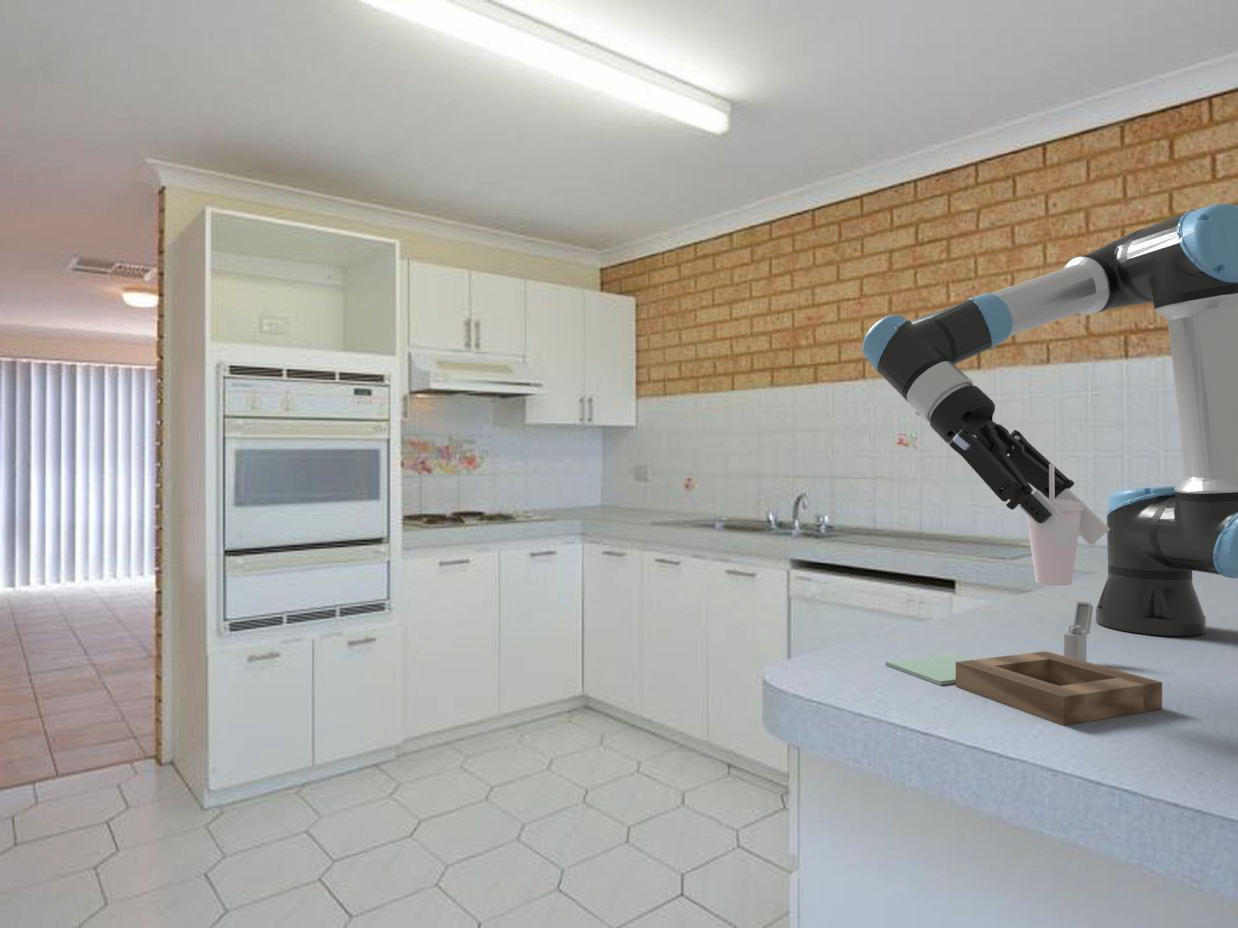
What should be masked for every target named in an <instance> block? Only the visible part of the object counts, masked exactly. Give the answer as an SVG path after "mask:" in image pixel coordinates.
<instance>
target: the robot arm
mask: <svg viewBox="0 0 1238 928" xmlns="http://www.w3.org/2000/svg"><path fill="white" fill-rule="evenodd" d="M1151 303H1153V310H1154V313H1156V314H1157V315H1159V316H1160V317H1162V318H1164V319H1165V320H1166V321H1167V324H1168V334H1169V343H1170V352H1171V353H1170V354H1171V359H1172V360H1171V363H1172V371H1173V380H1174V386H1175V387H1174V388H1175V397H1176V398H1175V399H1176V406H1177V414H1178V415H1177V417H1178V424H1179V433H1180V443H1181V452H1182V460H1183V461H1182V462H1183V469H1184V477H1183V479H1182V480H1181V481H1180V482H1179V483H1178V484H1177V485H1175V486H1156V487H1142V488H1141V487H1140V488H1139V487H1138V488H1128V489H1121V490H1116V491H1114V492H1113V493H1111V494H1110V496H1109V498H1108V507H1107V512H1106V522H1107V523H1105V522H1104V521H1103V520H1102V519H1101V518H1100V517H1099V516H1097V515H1096V513H1095V512H1093V511H1092V510H1091V509H1090V507H1088V506H1087V505H1086V504H1085V503H1084V510H1081V517H1080V525H1079V529H1078V528H1077V527H1076V526H1075V525H1074V524H1073V523H1072V522H1071V521H1070V520H1069V519H1068V518H1067V517H1066V516H1065V515H1063V514H1062V513H1061V512H1060V511H1059V510H1058V509H1057V508H1056V507H1055V506H1054V505H1053V504H1052V503H1051V502H1050V501H1049V500H1048V499H1047V498H1049V464H1053V463H1051V462H1050V460H1048V458H1046V457H1045V456H1044V455H1043V454H1042V453H1041V452H1040V451H1039V450H1037V449H1036V448H1035V447H1034V446H1033V445H1032V444H1031V443H1030V442H1029V441H1028V440H1027V439H1026V438H1025V436H1024V435H1023V434H1022V433H1021V431H1018V430H1017V429H1014V430H1013V431H1012V432H1011V433H1010V431H1009V430H1008V429H1007V428H1006V427H1004V426H1003V425H1002V424H1000V423H996V422H994V421H993V418H994V417H993V416H994V413H995V411H996V405H995V402H994V401H993V400H992V399H991V398H990V397H989V396H988V395H987V394H986V393H985V392H984V391H983V390H981V388H979V386H977V385H974V382H973V380H972V379H970V378H969V376H967V375H966V374H965V373H964V372H963V371H962V370H961V369H960V368H959V367H958V366H956V365H957V364H959V363H961V362H963V361H966V360H968V359H970V358H973V357H975V356H977V355H979V354H981V353H983V352H986V351H988V350H989V351H991V350H993V349H994V347H996V346H998V345H999V344H1001V343H1003V342H1005V341H1006V340H1008V339H1009V338H1010V337H1013V336H1016V335H1018V334H1021V333H1024V332H1027V331H1030V330H1032V329H1035V328H1039V327H1041V326H1044V325H1047V324H1050V323H1053V322H1056V321H1059V320H1061V319H1065V318H1068V317H1070V316H1074V315H1076V314H1080V315H1083V316H1091V315H1095V314H1098V313H1101V312H1105V311H1108V310H1112V309H1118V308H1123V307H1130V306H1137V305H1144V304H1151ZM862 352H863V355H864V357H865V358H866V359H867V360H868V362H869V363H870V365H872V367H873V368H874V369H875V371H876V372H877V373H878V374H880V375H881V376H882V377H883V378H884V380H886V382H888V383H889V385H890V386H891V387H892V388H893V389H895V390H896V391H897V392H898V394H900V396H901V397H902V398H903V399H904V400H905V401H906V402H907V403H908V404H909V405H911V407H912V408H913V409H914V414H915V415H916V416H917V417H921V418H923V419H924V420H925V421H926V422H928V423H929V425H930V428H932V429H933V430H934V432H936V433H937V435H938V436H939V437H940V438H941V439H942V440H943V441H944V442H945V443H946V444H948V446H949V447H950V448H951V449H952V450H954V451H955V452H956V453H958V455H959V456H961V457H962V458H963V459H964V460H965V462H966V463H967V464H968V465H969V466H970V467H971V468H972V469H973V470H974V472H975V473H976V474H977V475H978V476H979V477H980V478H981V480H982V481H983V482H984V483H985V484H986V485H987V486H988V487H989V489H991V491H992V492H993V493H994V494H995V495H996V496H997V498H999V500H1000V501H1002V502H1004V503H1005V502H1007V503H1006V504H1005V506H1006V507H1007V508H1008V509H1010V510H1015V509H1016V508H1017V507H1018V506H1019V505H1020V506H1019V507H1020V509H1021V510H1022V511H1023V512H1024V513H1025V515H1026V514H1027V515H1028V516H1029V517H1030V518H1031V519H1032V520H1033V521H1034V522H1035V523H1036V524H1037V525H1038V526H1039V527H1040V528H1041V529H1042V530H1043V531H1044V532H1045V533H1046V534H1047V535H1048V536H1049V538H1050V539H1051V540H1052V541H1053V542H1054V543H1055V544H1056V545H1057V546H1058V547H1059V548H1060V549H1065V548H1066V547H1067V546H1068V545H1069V544H1070V543H1072V542H1073V541H1074V540H1075V539H1076V538H1077V537H1078V538H1079V537H1082V539H1083V540H1084V541H1085V542H1087V544H1089V546H1091V545H1094V544H1095V543H1096V542H1097V541H1099V540H1100V539H1101V538H1102V537H1103V536H1105V535H1106V534H1107V535H1106V536H1107V540H1106V541H1107V542H1106V543H1107V580H1106V582H1105V584H1104V587H1103V590H1102V592H1101V595H1100V597H1099V599H1098V600H1099V601H1098V604H1097V605H1096V609H1095V623H1097V624H1098V625H1100V626H1103V627H1106V628H1111V629H1113V630H1119V631H1122V632H1123V631H1125V632H1130V633H1138V634H1144V635H1154V636H1168V637H1193V636H1194V637H1195V636H1200V635H1204V634H1206V633H1207V632H1206V631H1207V622H1206V621H1207V619H1206V616H1205V614H1204V611H1203V608H1202V606H1201V605H1202V604H1201V603H1200V600H1199V598H1198V595H1197V592H1196V590H1195V588H1194V584H1193V571H1194V572H1200V573H1206V574H1207V573H1208V574H1213V575H1217V576H1218V575H1220V576H1222V577H1225V578H1230V579H1238V205H1236V204H1233V203H1216V204H1213V205H1212V204H1211V205H1209V206H1205V207H1201V208H1197V209H1192V210H1188V211H1186V212H1185V213H1182V214H1180V215H1177V216H1174V217H1172V218H1170V219H1166V220H1164V221H1161V222H1159V223H1156V224H1153V225H1149V226H1147V227H1143V228H1141V229H1138V230H1136V231H1132V232H1131V233H1129V234H1126V235H1124V236H1122V237H1119V238H1118V239H1115V240H1114V241H1111V242H1110V243H1108V244H1106V245H1104V246H1102V247H1099V248H1097V249H1095V250H1093V251H1091V252H1088V253H1086V254H1083V255H1081V256H1078V257H1075V258H1073V259H1071V260H1069V261H1068V262H1067V263H1066V264H1065V266H1064V267H1063V268H1061V269H1059V270H1058V269H1057V270H1056V271H1053V272H1050V273H1047V274H1045V275H1041V276H1038V277H1034V278H1032V279H1029V280H1025V281H1023V282H1021V283H1016V284H1013V285H1011V286H1009V287H1005V288H1002V289H999V290H996V291H993V292H991V293H990V292H988V293H982V294H979V295H977V296H974V297H970V298H969V297H968V298H967V299H966V300H964V301H962V302H960V303H958V304H955V305H952V306H949V307H946V308H943V309H940V310H937V311H935V312H930V313H928V314H925V315H922V316H920V317H917V318H912V319H911V320H910V319H907V318H906V317H904V315H901V314H895V315H894V314H890V315H886V316H884V317H883V318H880V320H878V321H876V322H875V323H874V324H873V325H872V327H870V329H868V331H867V333H866V334H865V336H864V338H863V342H862ZM1074 485H1075V482H1074V481H1073V480H1072V479H1069V478H1068V477H1067V476H1066V475H1065V474H1064V473H1062V471H1060V470H1059V469H1058V468H1057V467H1056V466H1055V465H1054V488H1055V499H1066V500H1080V501H1082V500H1081V499H1080V498H1079V497H1078V496H1077V495H1076V494H1075V493H1074V492H1073V491H1072V490H1071V488H1072V487H1073V486H1074ZM1032 487H1033V488H1032ZM1034 489H1036V490H1035V491H1034ZM1032 492H1033V493H1032Z"/></svg>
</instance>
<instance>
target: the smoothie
mask: <svg viewBox="0 0 1238 928" xmlns="http://www.w3.org/2000/svg"><path fill="white" fill-rule="evenodd" d="M1054 466H1055V463H1052V464H1049V498H1047V497H1046V498H1047V499H1048V500H1049V501H1050V502H1051V503H1052V504H1053V505H1054V506H1055V507H1056V508H1057V509H1058V510H1059V511H1060V512H1061V513H1062V514H1063V515H1065V516H1066V517H1067V518H1068V519H1069V520H1070V521H1071V522H1072V523H1073V524H1074V525H1075V526H1076V527H1077V528H1078V529H1079V525H1080V517H1081V510H1084V504H1085V501H1083V500H1081V499H1080V500H1081V501H1080V500H1066V499H1055V488H1054ZM1025 515H1026V517H1025V518H1026V524H1027V529H1028V536H1029V537H1028V538H1029V544H1030V552H1031V559H1032V565H1033V572H1034V578H1035V581H1034V582H1035V583H1038V584H1041V585H1047V586H1048V585H1049V586H1070V585H1072V584H1073V583H1072V582H1073V576H1074V568H1075V561H1076V553H1077V546H1078V540H1079V539H1078V538H1079V536H1078V537H1077V538H1076V539H1075V540H1074V541H1073V542H1072V543H1070V544H1069V545H1068V546H1067V547H1066V548H1065V549H1060V548H1059V547H1058V546H1057V545H1056V544H1055V543H1054V542H1053V541H1052V540H1051V539H1050V538H1049V536H1048V535H1047V534H1046V533H1045V532H1044V531H1043V530H1042V529H1041V528H1040V527H1039V526H1038V525H1037V524H1036V523H1035V522H1034V521H1033V520H1032V519H1031V518H1030V517H1029V516H1028V515H1027V514H1026V513H1025Z"/></svg>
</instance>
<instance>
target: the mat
mask: <svg viewBox="0 0 1238 928" xmlns="http://www.w3.org/2000/svg"><path fill="white" fill-rule="evenodd" d="M969 660H975V659H973V658H970V657H967V656H964V655H961V654H957V653H949V654H941V655H933V656H923V657H915V658H907V659H906V658H904V659H895V660H888V661H885V666H887V667H888V668H892V669H895V670H898V671H901V672H902V673H906V674H908V675H911V676H914V677H916V678H919V679H922V680H924V681H926V682H930V683H932V684H936V685H938V686H946V685H953V684H956V662H960V661H969Z"/></svg>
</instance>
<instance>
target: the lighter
mask: <svg viewBox="0 0 1238 928" xmlns="http://www.w3.org/2000/svg"><path fill="white" fill-rule="evenodd" d="M1093 610H1094V606H1093V605H1092V604H1091V603H1090V602H1089V601H1088V602H1086V601H1077V602H1076V604H1075V610H1074V611H1075V613H1074V619H1073V623H1072V624H1071V625H1069V626H1068V631H1067V632H1065V633H1063V656H1066V657H1069V658H1073V659H1077V660H1081V661H1084V662H1087V636H1088V635H1089V634H1091V627H1092V626H1091V624H1092V619H1093V612H1094V611H1093Z"/></svg>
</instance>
